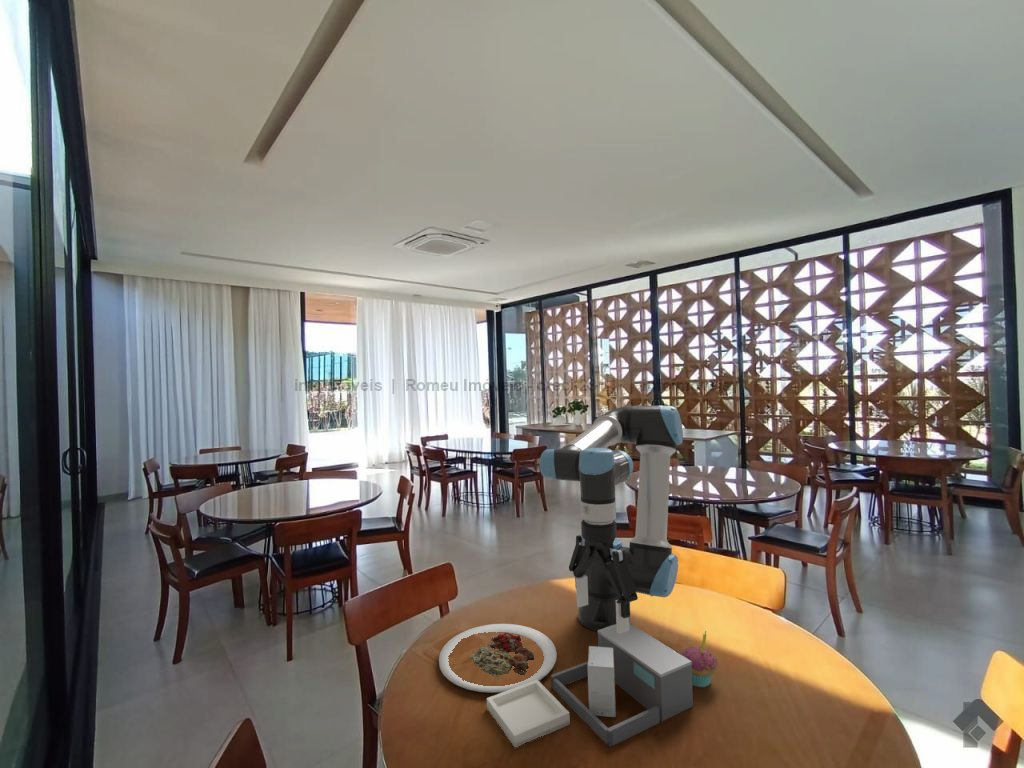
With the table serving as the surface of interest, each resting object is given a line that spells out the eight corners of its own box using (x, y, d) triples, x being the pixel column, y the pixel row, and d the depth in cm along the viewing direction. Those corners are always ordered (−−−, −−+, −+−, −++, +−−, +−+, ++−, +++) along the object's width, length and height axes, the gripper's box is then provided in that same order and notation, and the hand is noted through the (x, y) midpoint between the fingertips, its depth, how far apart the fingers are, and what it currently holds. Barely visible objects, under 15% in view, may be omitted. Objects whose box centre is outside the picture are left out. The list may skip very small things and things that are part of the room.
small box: (615, 718, 98) (614, 668, 98) (588, 715, 99) (587, 665, 99) (615, 694, 106) (613, 647, 106) (590, 691, 107) (588, 645, 107)
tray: (486, 709, 102) (486, 698, 102) (537, 689, 108) (537, 679, 108) (514, 748, 91) (514, 736, 91) (569, 724, 97) (569, 712, 97)
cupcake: (716, 673, 112) (715, 623, 112) (719, 696, 104) (718, 641, 104) (678, 667, 115) (676, 618, 115) (678, 689, 107) (676, 636, 107)
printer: (551, 688, 109) (550, 646, 109) (627, 658, 119) (625, 620, 119) (609, 747, 90) (608, 696, 90) (693, 706, 101) (691, 661, 101)
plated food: (438, 707, 104) (438, 692, 104) (439, 636, 133) (438, 624, 133) (570, 690, 108) (570, 675, 108) (542, 625, 138) (542, 613, 138)
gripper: (552, 510, 112) (555, 600, 112) (624, 538, 90) (628, 649, 90) (578, 505, 115) (580, 592, 115) (653, 531, 94) (657, 638, 93)
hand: (601, 617), depth 103 cm, fingers open, 13 cm apart
